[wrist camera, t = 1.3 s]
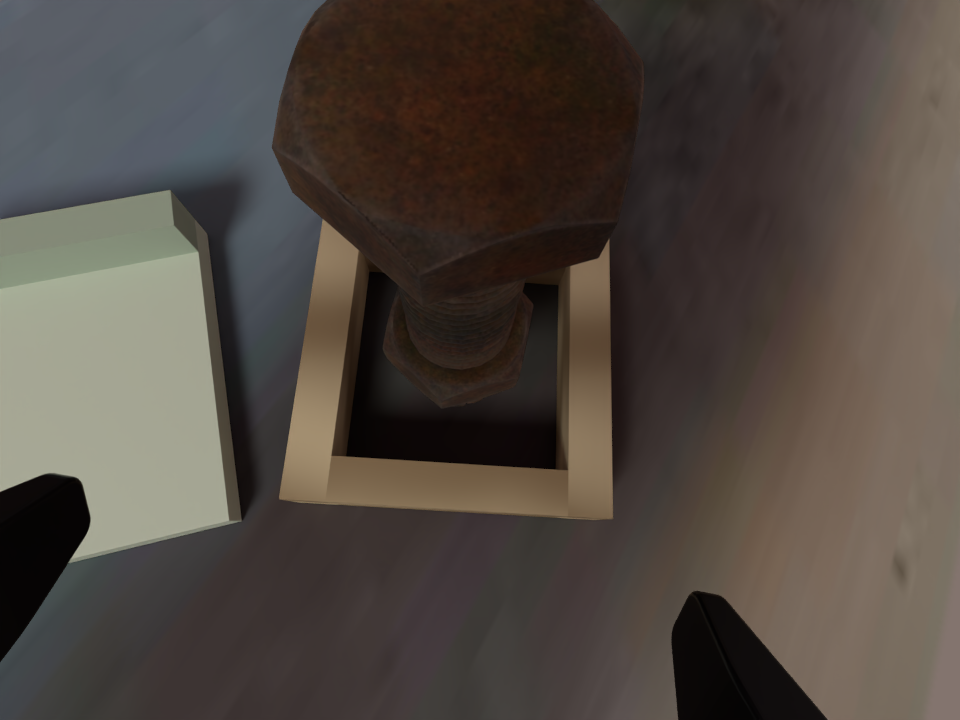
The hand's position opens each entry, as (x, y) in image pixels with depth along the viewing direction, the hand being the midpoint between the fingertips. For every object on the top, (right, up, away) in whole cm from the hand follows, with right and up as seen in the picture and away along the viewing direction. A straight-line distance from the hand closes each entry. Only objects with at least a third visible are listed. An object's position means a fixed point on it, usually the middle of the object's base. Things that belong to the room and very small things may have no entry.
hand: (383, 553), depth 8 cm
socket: (+1, +2, +14) cm, 14 cm away
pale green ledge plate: (-14, +1, +13) cm, 19 cm away
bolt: (+1, +2, +14) cm, 14 cm away
